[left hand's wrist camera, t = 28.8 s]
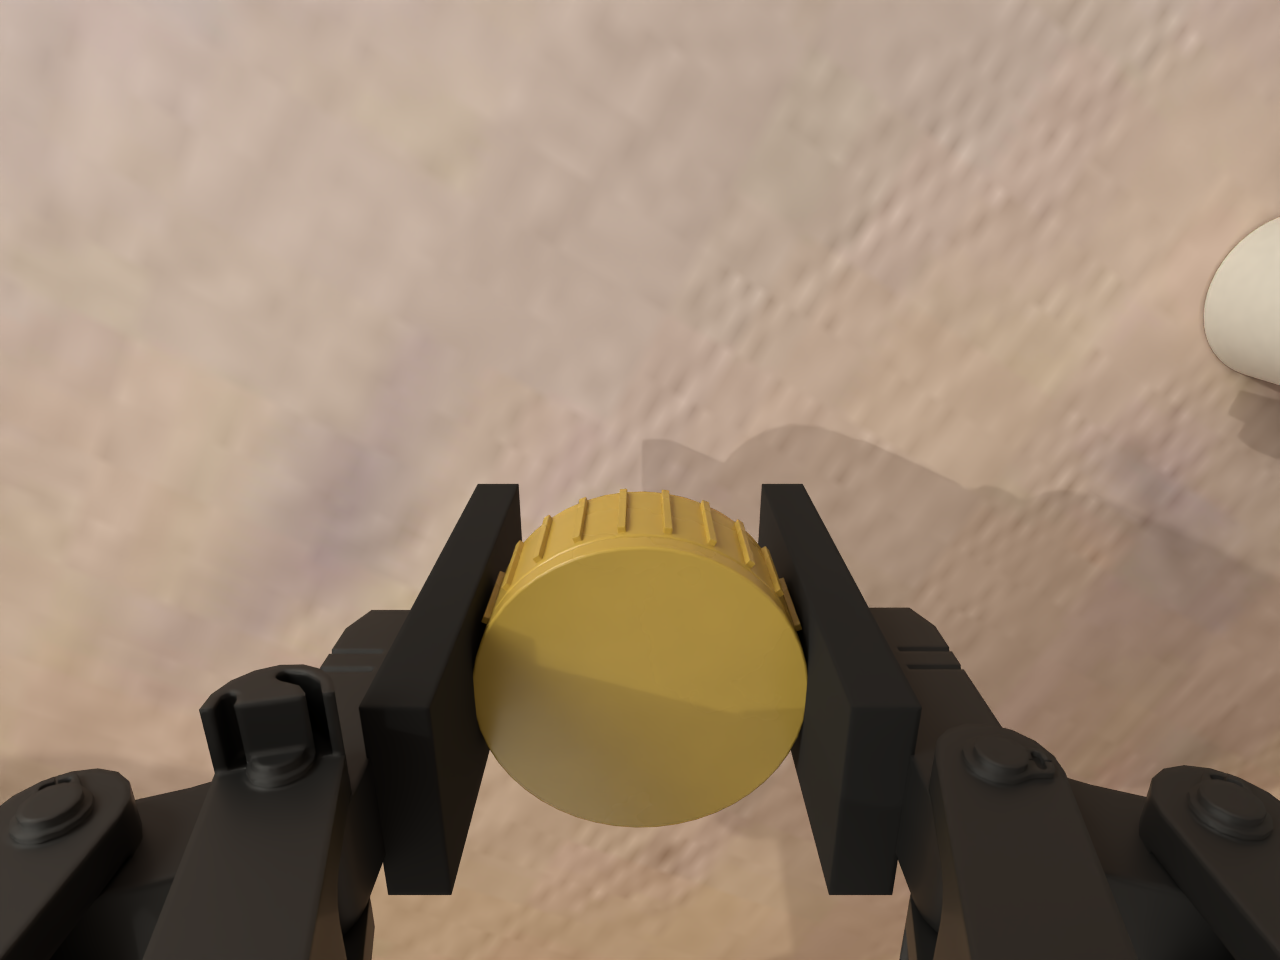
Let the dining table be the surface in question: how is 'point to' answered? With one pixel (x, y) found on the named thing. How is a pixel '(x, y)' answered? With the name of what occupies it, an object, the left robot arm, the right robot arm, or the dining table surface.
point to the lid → (640, 662)
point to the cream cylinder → (1248, 306)
